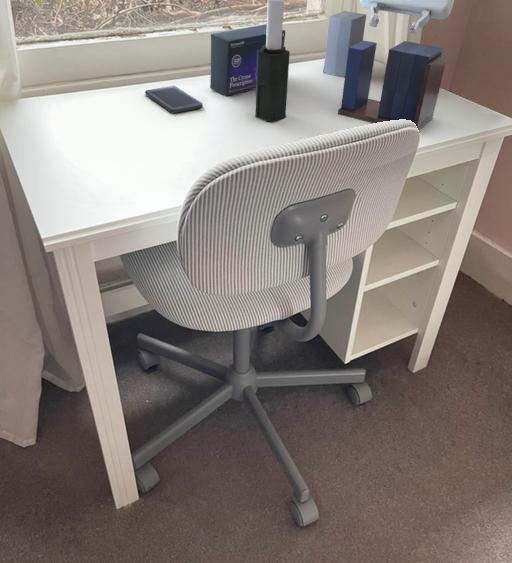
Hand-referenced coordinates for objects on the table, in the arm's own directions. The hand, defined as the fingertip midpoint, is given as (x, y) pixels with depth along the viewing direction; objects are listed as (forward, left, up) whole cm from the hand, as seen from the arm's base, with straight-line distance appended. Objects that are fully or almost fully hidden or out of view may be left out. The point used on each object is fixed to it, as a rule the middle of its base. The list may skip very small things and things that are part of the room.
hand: (392, 28), depth 116 cm
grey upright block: (+12, -12, -14) cm, 22 cm away
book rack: (-3, +15, -14) cm, 21 cm away
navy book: (+4, +14, -13) cm, 19 cm away
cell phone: (+41, +25, -14) cm, 50 cm away
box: (+30, +9, -14) cm, 34 cm away
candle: (+19, +25, -14) cm, 34 cm away
